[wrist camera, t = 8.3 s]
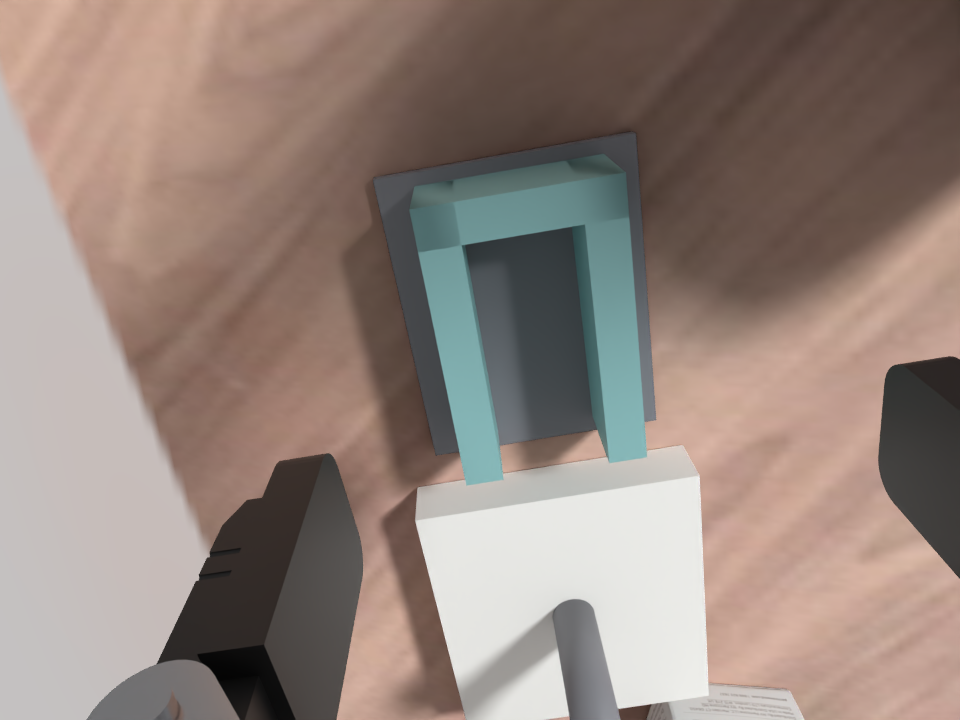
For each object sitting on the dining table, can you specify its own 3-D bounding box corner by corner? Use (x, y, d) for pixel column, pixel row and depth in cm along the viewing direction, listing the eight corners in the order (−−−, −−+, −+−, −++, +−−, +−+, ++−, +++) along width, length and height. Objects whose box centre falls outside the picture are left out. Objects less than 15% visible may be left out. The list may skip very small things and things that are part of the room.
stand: (417, 487, 27) (403, 675, 19) (682, 444, 27) (778, 619, 19) (467, 690, 32) (473, 907, 24) (693, 656, 31) (774, 866, 23)
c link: (414, 186, 22) (409, 209, 19) (603, 153, 22) (625, 172, 19) (464, 436, 26) (466, 485, 23) (626, 410, 25) (646, 457, 23)
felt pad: (374, 177, 22) (372, 179, 22) (633, 131, 22) (636, 133, 21) (436, 449, 26) (436, 455, 26) (653, 414, 26) (656, 419, 26)
